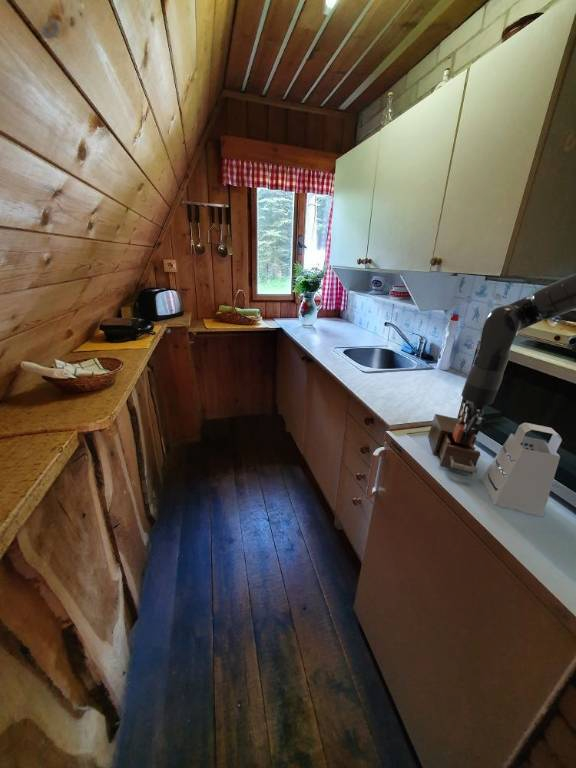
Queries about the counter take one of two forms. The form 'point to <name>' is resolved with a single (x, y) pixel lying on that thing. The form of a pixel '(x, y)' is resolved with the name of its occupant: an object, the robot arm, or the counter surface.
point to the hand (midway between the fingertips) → (461, 439)
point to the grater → (524, 471)
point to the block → (460, 433)
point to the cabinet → (442, 430)
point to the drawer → (457, 455)
